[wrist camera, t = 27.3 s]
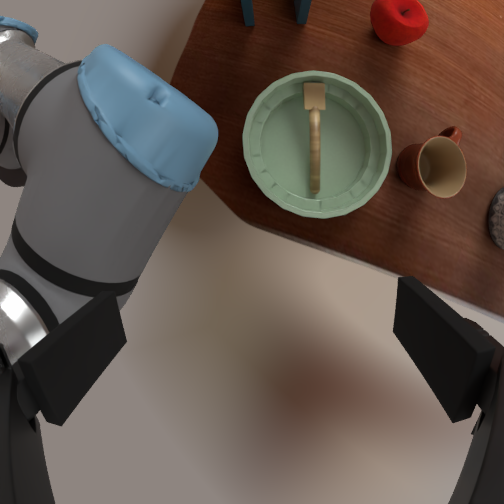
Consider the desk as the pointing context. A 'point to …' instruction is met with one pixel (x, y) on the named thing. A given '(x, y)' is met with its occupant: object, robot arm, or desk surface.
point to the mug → (435, 164)
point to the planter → (497, 219)
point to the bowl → (332, 145)
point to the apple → (398, 21)
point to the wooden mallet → (314, 129)
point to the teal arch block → (301, 9)
